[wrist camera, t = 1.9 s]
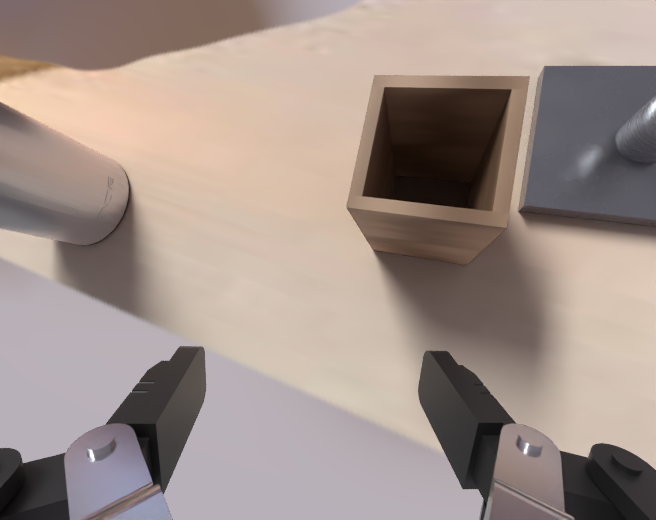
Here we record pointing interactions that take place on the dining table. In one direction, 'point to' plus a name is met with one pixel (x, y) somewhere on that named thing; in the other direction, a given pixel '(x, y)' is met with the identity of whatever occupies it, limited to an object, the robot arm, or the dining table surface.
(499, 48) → the dining table surface
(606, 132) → the post plate
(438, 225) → the walnut sleeve
